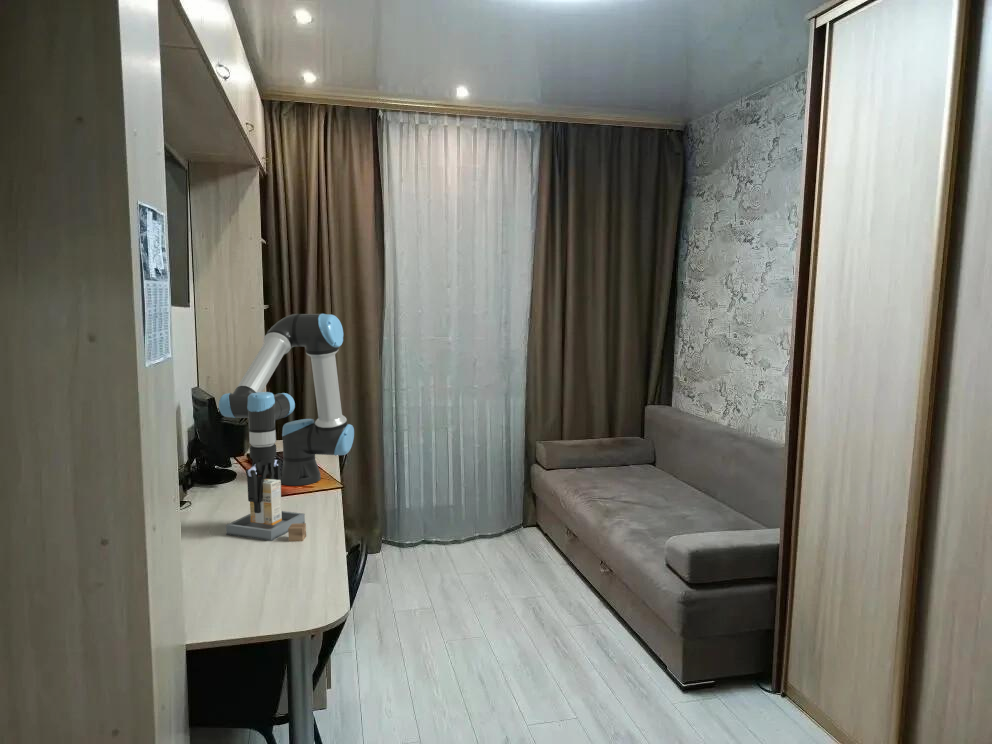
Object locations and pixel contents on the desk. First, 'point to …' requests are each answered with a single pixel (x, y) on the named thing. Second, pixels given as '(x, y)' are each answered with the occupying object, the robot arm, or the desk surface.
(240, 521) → the tray
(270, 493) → the supplement box
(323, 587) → the desk surface
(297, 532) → the walnut block
